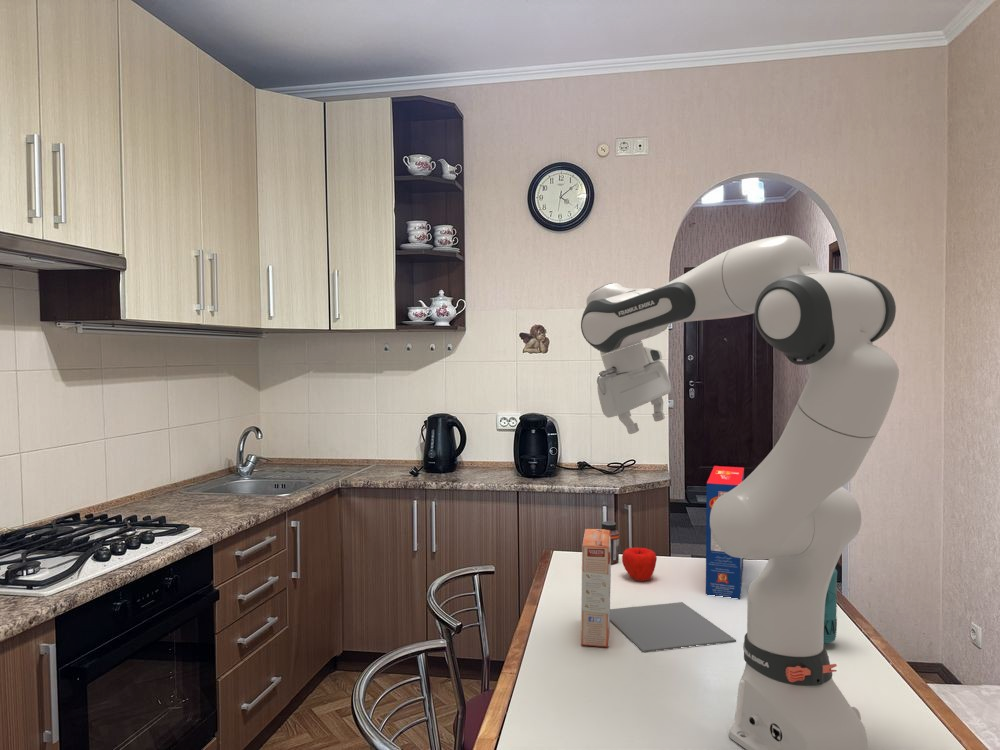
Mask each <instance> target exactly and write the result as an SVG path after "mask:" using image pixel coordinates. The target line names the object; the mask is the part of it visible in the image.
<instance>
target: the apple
mask: <svg viewBox="0 0 1000 750" xmlns="http://www.w3.org/2000/svg"><path fill="white" fill-rule="evenodd" d="M657 559H658V557H657V554H656V553H655V552H654V550H652V549H648V548H646V547H628V548H626V549H625V550H624V551H623V552H622V555H621V560H622V565H623V567H624V570H625V571H626V572H627V574H628V576H629V577H630V578H631V579H633V580H635V581H639V582H642V581H643V582H646V580H647V581H649V580H650V579H651V578H652V576H653V574H654V572H655V570H656V569H655V568H656V563H657Z"/></svg>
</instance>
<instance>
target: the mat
mask: <svg viewBox="0 0 1000 750" xmlns="http://www.w3.org/2000/svg"><path fill="white" fill-rule="evenodd" d="M609 623H611V624H612V625H613V626H614V627H615V628H616V629H617V630H618V631H620V633H621V634H623V635H624V637H626V638H627V639H628V640H629V641H630V643H632V644H633V643H634V644H635V645H636V646H637V647H638V648H639V649H638V648H637V647H636V646H635V645H634V644H633V645H634V646H635V647H636V648H637V649H638V650H639V651H640V652H641V653H643V652H644V653H649V652H648V651H653V652H657V651H656V650H661V651H665V650H664V649H670V650H674V649H673V648H678V649H682V648H681V647H687V648H690V647H689V646H695V647H697V646H696V645H704V646H708V645H707V644H713V645H717V644H716V643H721V644H727V642H730V643H736V642H737V639H736V638H734V637H733V636H731V635H730V634H729V633H727V632H725V631H724V630H723V629H721V628H720V627H718V626H717V625H715V624H714V623H713V622H711V621H710V620H709V619H708V618H706V617H704V616H703V615H701V614H700V613H698V612H697V610H694V609H693V608H692V607H690V606H689V605H687V604H686V603H684V602H682V601H679V602H670V603H659V604H658V603H657V604H651V605H639V606H638V605H637V606H629V607H627V606H626V607H619V608H610V622H609Z"/></svg>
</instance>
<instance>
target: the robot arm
mask: <svg viewBox="0 0 1000 750" xmlns="http://www.w3.org/2000/svg"><path fill="white" fill-rule="evenodd" d="M585 304H586V307H584V308H585V309H584V311H583V313H582V317H581V320H580V330H581V333H582V337H583V338H584V339H585V341H586V342H587V343H588V344H589V345H590V346H591V347H592V348H594V349H596V350H597V351H599V352H600V353H599V354H600V357H601V360H602V363H603V365H604V369H605V370H601V371H599V373H598V375H597V378H596V384H597V395H598V399H599V404H600V409H601V411H602V414H603V415H604V416H605V417H607V418H614V417H618V420H619V421H620V422H621V423H622V424H623V425H624V426H625V428H626V430H627V433H628V434H629V435H632V434H635V433H638V432H639V431H640V428H639V425H638V422H634V421H633V419H632V418H631V416H632V414H631V411H633V410H634V409H636V408H639V407H641V406H644V405H646V404H648V403H651V405H652V406H653V413H652V414H651V415H652V418H653V421H654V422H656V423H657V422H660V421H662V420H665V418H666V417H665V414H664V411H663V410H664V399H663V397H664V396H666V395H668V394H670V393H671V392H672V383H671V381H670V377H669V374H668V371H667V368H666V366H665V364H664V362H663V361H661V360H662V359H663V355H662V352H661V350H659V349H655V348H650V347H646V346H644V343H643V340H646V339H649V338H652V337H655V336H658V335H659V334H661V333H663V332H665V331H666V330H667V329H668V327H669V325H673V324H678V323H688V322H696V321H697V322H699V321H706V320H707V321H708V320H719V319H730V318H736V317H742V316H747V315H752V314H754V321H755V322H754V323H755V326H756V328H757V331H758V332H759V333H760V336H761V337H762V338H763V339H764V341H766V342H767V343H768V344H769V345H770V346H771V347H773V348H774V349H775V350H778V351H779V352H781V353H783V355H784V356H785V357H786V358H787V359H788V361H789V362H791V363H792V364H794V365H797V366H806V365H807V366H808V369H809V375H808V378H807V381H806V384H805V385H804V388H803V390H802V392H801V394H800V396H799V398H798V400H797V402H796V405H795V407H794V409H793V411H792V413H791V415H790V416H789V417H790V418H789V419H788V421H787V424H786V426H785V428H784V430H783V431H782V434H781V436H780V438H779V439H778V441H777V442H776V444H775V445H774V446H773V448H772V449H771V450H770V452H769V453H768V454H767V456H766V457H765V458H764V459H763V460H762V461H761V462H760V463H759V464H758V465H757V466H756V467H755V469H754V470H753V471H752V472H751V473H750V474H749V475H747V476H746V478H744V481H743V482H741V483H740V484H739V485H738V486H736V487H735V488H733V489H732V490H730V491H729V492H727V493H725V494H723V495H722V496H720V497H719V498H718V499H717V500H716V501H715V502H714V504H713V507H712V509H711V513H710V528H711V532H712V535H713V537H714V539H715V541H716V543H717V544H718V546H719V547H720V548H721V549H722V550H723V551H724V552H725V553H726V554H728V555H730V556H732V557H737V558H743V560H744V559H745V560H756V561H760V560H761V561H764V560H767V563H766V564H765V566H764V567H763V569H762V571H761V572H760V573H758V575H757V576H756V577H755V578H754V579H753V580H752V582H751V583H750V585H749V587H748V590H747V597H746V598H747V599H746V600H747V609H746V610H747V615H746V619H747V621H746V622H747V623H746V629H747V630H746V633H745V634H744V640H743V645H742V648H743V649H742V650H743V660H744V661H745V666H744V669H743V672H742V675H741V678H740V679H739V682H738V688H737V696H736V697H737V698H736V709H735V716H734V717H735V718H734V722H733V724H732V725H731V726H730V727H729V731H728V737H729V738H730V739H731V740H733V742H736V743H737V744H738V745H740V746H741V747H742V748H743V749H745V750H869V742H868V741H869V740H868V735H867V731H866V727H865V725H864V723H863V722H862V718H861V713H860V711H859V709H858V708H857V707H855V706H851V704H850V703H849V701H848V700H847V699H846V697H845V695H844V694H843V693H842V691H841V690H840V688H839V687H838V685H837V683H836V682H835V681H834V679H833V673H835V672H837V671H838V670H837V669H834V668H836V667H837V663H833V664H832V663H831V662H830V657H829V654H828V652H827V648H826V645H825V644H824V643H823V642H824V613H825V600H826V595H827V590H828V586H829V583H830V580H831V577H832V574H833V572H834V569H836V566H837V564H838V561H839V559H840V557H841V556H842V554H843V552H844V551H845V548H847V547H848V545H849V544H850V542H851V541H853V540H854V539H855V538H856V537H857V535H858V534H859V532H860V529H861V527H862V526H861V525H862V512H861V508H860V506H859V503H858V501H857V499H856V498H855V496H854V495H853V494H852V493H851V492H850V491H849V490H848V489H846V488H845V487H844V486H845V485H846V484H848V483H849V482H850V481H852V479H853V478H854V477H855V476H856V474H857V473H858V471H859V468H860V467H861V464H862V463H863V462H864V460H865V457H866V456H867V454H868V452H869V451H870V449H871V446H872V445H873V443H874V441H875V440H876V437H877V435H878V433H879V431H880V430H881V428H882V425H883V424H884V421H885V419H886V417H887V414H888V412H889V410H890V406H891V404H892V401H893V400H894V395H895V393H896V389H897V385H898V382H899V376H900V370H899V367H898V364H897V362H896V360H895V359H894V358H893V356H891V355H890V354H889V353H888V352H887V351H886V350H884V349H882V348H881V347H879V346H877V345H875V344H873V343H874V342H876V341H878V340H879V339H881V338H882V337H883V336H885V335H886V334H887V333H888V331H889V330H891V327H892V326H893V324H894V321H895V319H896V312H897V307H896V306H897V305H896V302H895V298H894V296H893V294H892V293H891V291H890V289H889V288H888V287H886V286H885V285H884V284H882V283H881V282H880V281H878V280H875V279H873V278H871V277H868V276H865V275H862V274H859V273H854V272H850V271H847V270H844V269H839V268H834V269H832V270H830V271H829V272H828V271H826V270H822V268H820V267H819V266H818V264H817V260H816V256H815V254H814V252H813V249H812V247H810V246H809V244H808V243H807V242H806V241H804V240H803V239H802V238H800V237H797V236H794V235H789V234H787V235H786V234H785V235H779V236H771V237H765V238H762V239H757V240H753V241H751V242H750V241H749V242H746V243H744V244H741V245H738V246H735V247H732V248H730V249H728V250H726V251H723V252H721V253H720V254H718V255H714V257H711V258H710V259H708V260H706V261H704V262H703V263H701V264H699V265H698V266H696V267H693V269H691V270H689V271H687V272H686V273H683V274H682V275H680V276H678V277H676V278H674V279H672V280H671V281H669V282H667V283H665V284H663V285H661V286H660V287H657V288H654V287H648V288H646V287H645V288H641V287H640V288H634V287H633V288H632V287H625V286H623V285H621V284H620V283H619V282H618V283H617V282H612V283H611V282H610V283H607V284H604V285H602V286H600V287H598V288H596V289H594V290H593V291H592V292H590V293H589V295H587V297H586V303H585Z"/></svg>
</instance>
